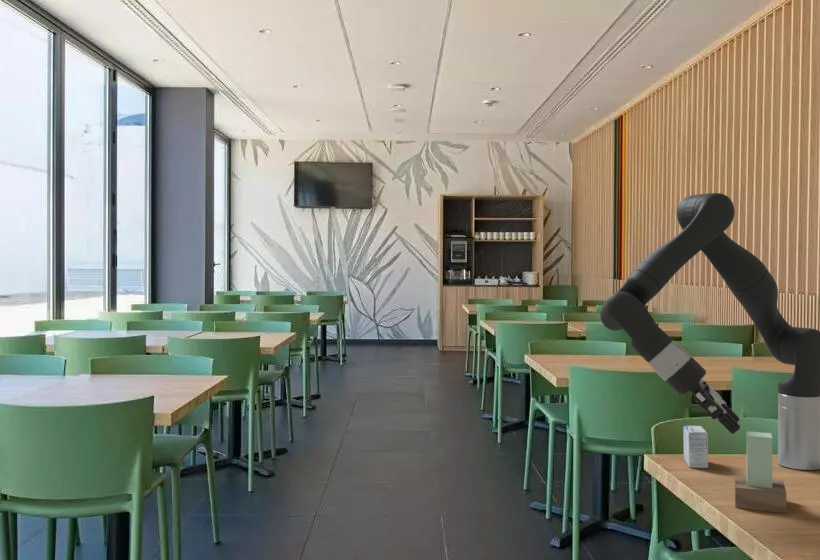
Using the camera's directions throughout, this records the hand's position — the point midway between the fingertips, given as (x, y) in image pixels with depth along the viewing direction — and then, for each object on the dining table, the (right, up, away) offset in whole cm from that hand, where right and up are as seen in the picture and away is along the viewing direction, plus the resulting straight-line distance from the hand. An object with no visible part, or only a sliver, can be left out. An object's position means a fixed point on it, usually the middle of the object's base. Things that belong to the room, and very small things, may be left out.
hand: (736, 426), depth 147 cm
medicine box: (+3, -15, +29) cm, 32 cm away
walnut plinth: (+4, -15, -1) cm, 16 cm away
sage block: (+4, -11, -2) cm, 12 cm away
